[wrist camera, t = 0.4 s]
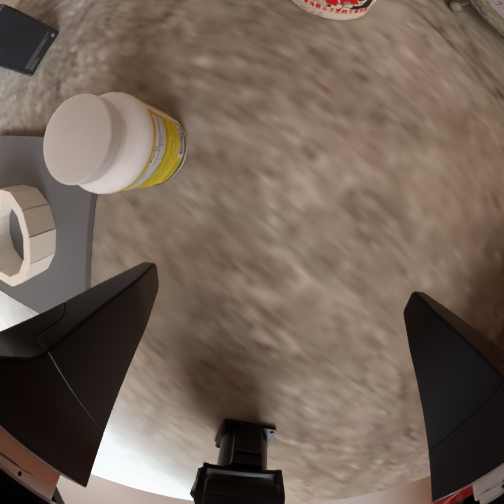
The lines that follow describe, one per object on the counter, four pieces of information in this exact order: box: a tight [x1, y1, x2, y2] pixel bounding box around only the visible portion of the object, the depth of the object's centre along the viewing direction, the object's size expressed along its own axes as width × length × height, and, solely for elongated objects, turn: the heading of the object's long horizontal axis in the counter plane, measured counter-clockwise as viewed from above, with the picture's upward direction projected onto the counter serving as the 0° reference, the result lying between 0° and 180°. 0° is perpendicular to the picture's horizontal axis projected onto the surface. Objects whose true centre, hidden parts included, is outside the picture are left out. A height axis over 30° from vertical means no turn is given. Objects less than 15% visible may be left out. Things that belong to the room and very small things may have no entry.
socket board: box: [0, 135, 97, 314], centre depth 21 cm, size 20×18×5 cm
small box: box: [0, 4, 59, 76], centre depth 12 cm, size 11×6×10 cm, turn 55°
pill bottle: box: [43, 92, 187, 194], centre depth 16 cm, size 6×6×11 cm
